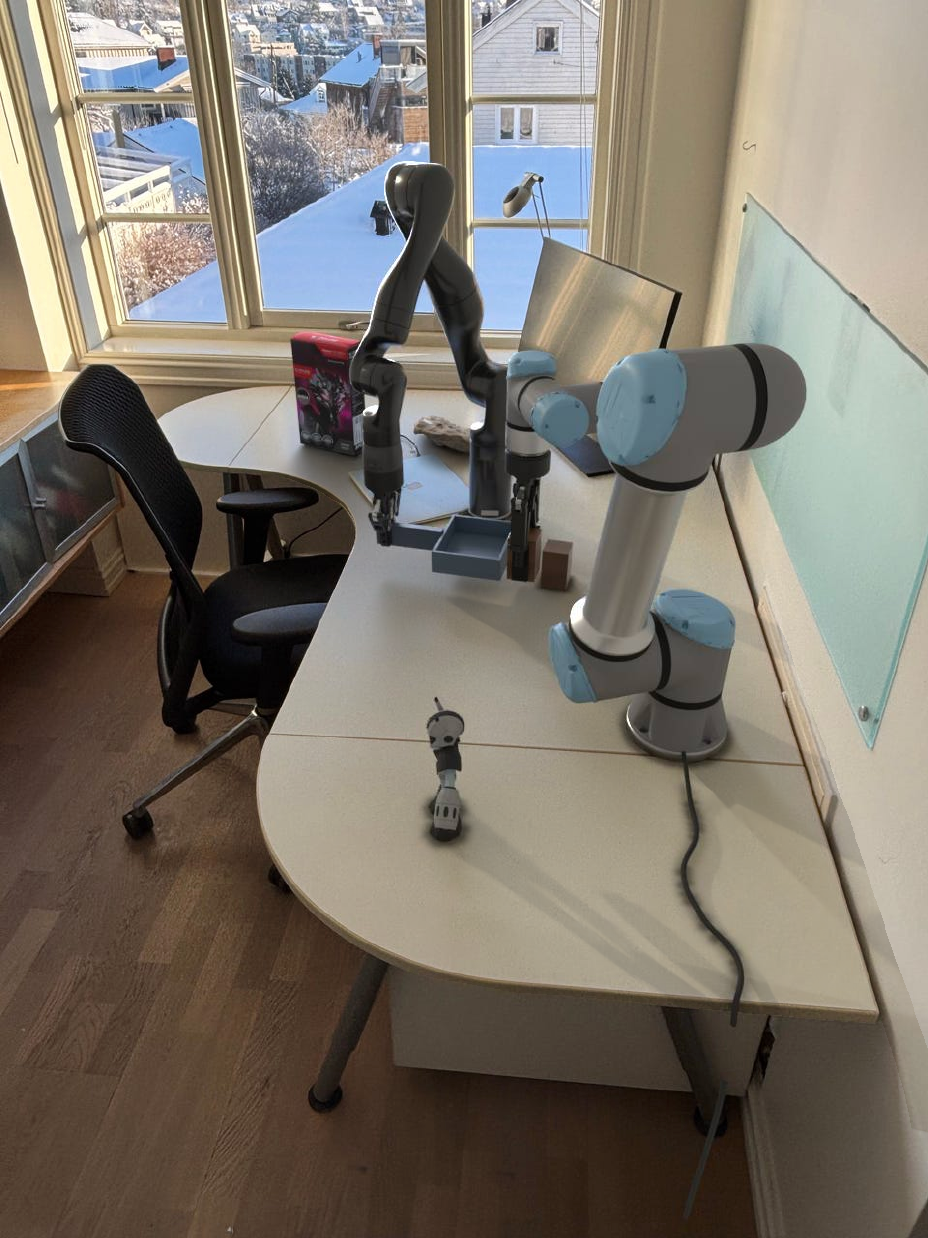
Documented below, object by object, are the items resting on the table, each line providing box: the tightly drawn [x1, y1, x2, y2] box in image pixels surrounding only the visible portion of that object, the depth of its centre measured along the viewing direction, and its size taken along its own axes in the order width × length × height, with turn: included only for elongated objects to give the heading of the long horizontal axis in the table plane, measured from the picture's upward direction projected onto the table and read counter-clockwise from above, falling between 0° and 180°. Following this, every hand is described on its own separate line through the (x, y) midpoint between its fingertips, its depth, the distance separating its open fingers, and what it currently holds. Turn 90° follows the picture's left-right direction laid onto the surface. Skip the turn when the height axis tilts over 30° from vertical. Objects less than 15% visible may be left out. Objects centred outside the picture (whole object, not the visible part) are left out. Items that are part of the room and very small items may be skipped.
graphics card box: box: [289, 330, 366, 456], centre depth 225 cm, size 17×7×27 cm, turn 62°
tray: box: [375, 514, 511, 582], centre depth 179 cm, size 15×27×5 cm, turn 75°
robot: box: [425, 696, 465, 842], centre depth 121 cm, size 20×5×20 cm, turn 3°
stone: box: [412, 415, 470, 453], centre depth 232 cm, size 21×15×6 cm
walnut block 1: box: [505, 528, 543, 583], centre depth 161 cm, size 5×5×8 cm
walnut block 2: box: [539, 538, 574, 592], centre depth 177 cm, size 5×5×8 cm
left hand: (387, 542), depth 183 cm, fingers closed on tray, 1 cm apart
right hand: (523, 572), depth 163 cm, fingers closed on walnut block 1, 5 cm apart
